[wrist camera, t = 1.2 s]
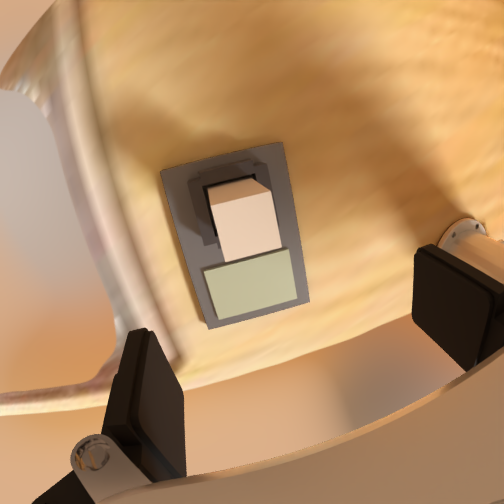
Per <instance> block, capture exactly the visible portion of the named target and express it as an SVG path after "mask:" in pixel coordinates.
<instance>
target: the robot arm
mask: <svg viewBox="0 0 504 504" xmlns="http://www.w3.org/2000/svg"><path fill="white" fill-rule="evenodd" d="M412 319H413V321H414V322H415V324H417V325H418V326H419V327H420V328H421V329H422V330H423V331H424V332H425V333H426V334H427V335H428V336H430V338H432V339H433V340H434V341H435V342H436V343H437V344H438V345H439V346H440V347H441V348H442V349H443V350H444V351H445V352H446V353H447V354H448V355H449V356H450V357H451V358H452V359H454V361H456V363H457V364H458V365H459V366H460V367H461V368H463V369H464V370H465V371H466V373H465V374H463V375H461V376H460V377H458V378H456V379H455V380H453V381H451V382H450V383H448V384H447V385H445V386H443V387H441V388H440V389H438V390H436V391H434V392H433V393H431V394H429V395H427V396H426V397H424V398H422V399H420V400H418V401H416V402H414V403H412V404H411V405H408V406H407V407H404V408H403V409H400V410H398V411H396V412H394V413H392V414H390V415H388V416H386V417H384V418H382V419H379V420H377V421H375V422H373V423H370V424H368V425H366V426H364V427H361V428H359V429H357V430H354V431H351V432H349V433H347V434H344V435H341V436H339V437H336V438H334V439H331V440H328V441H325V442H322V443H320V444H317V445H314V446H311V447H308V448H305V449H302V450H299V451H295V452H292V453H289V454H285V455H282V456H278V457H275V458H271V459H268V460H264V461H260V462H256V463H252V464H248V465H243V466H239V467H236V468H230V469H226V470H221V471H216V472H211V473H205V474H199V475H193V476H188V477H186V476H187V475H186V474H187V472H186V454H185V429H184V395H183V391H182V388H181V386H180V384H179V382H178V380H177V378H176V376H175V374H174V372H173V370H172V369H171V366H170V364H169V362H168V360H167V358H166V356H165V354H164V352H163V350H162V348H161V346H160V344H159V342H158V339H157V337H156V335H155V333H154V332H153V331H148V330H147V328H141V329H137V330H133V331H129V333H128V336H127V339H126V343H125V347H124V350H123V354H122V358H121V362H120V366H119V370H118V373H117V374H116V375H115V376H114V379H113V383H112V387H111V391H110V395H109V400H108V404H107V408H106V413H105V417H104V422H103V427H102V432H101V434H94V435H90V436H87V437H85V438H83V439H82V440H81V441H80V442H78V443H77V444H76V446H75V447H74V449H73V450H72V453H71V465H72V468H73V471H71V472H70V473H69V474H67V475H66V476H65V477H64V478H62V479H61V480H60V481H59V482H57V483H56V484H55V485H54V486H52V487H51V488H50V489H49V490H47V491H46V492H44V493H43V494H42V495H41V496H39V497H38V498H37V499H35V501H34V502H33V503H32V504H504V241H503V240H499V241H496V240H494V239H492V238H489V237H487V234H486V231H485V229H484V227H483V225H482V224H481V223H480V222H478V221H476V220H474V219H471V218H463V219H460V220H458V221H457V222H455V223H454V224H453V225H452V226H450V227H449V228H448V230H447V231H446V232H445V233H444V235H443V236H442V238H441V240H440V241H439V244H438V246H435V245H433V244H429V245H426V246H423V247H420V248H418V249H417V252H416V254H415V255H414V279H413V301H412Z"/></svg>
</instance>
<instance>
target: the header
mask: <svg viewBox="0 0 504 504" xmlns="http://www.w3.org/2000/svg"><path fill="white" fill-rule="evenodd" d="M160 174H161V177H162V181H163V185H164V188H165V192H166V196H167V199H168V203H169V207H170V210H171V214H172V217H173V221H174V224H175V227H176V231H177V234H178V237H179V241H180V244H181V247H182V251H183V254H184V257H185V260H186V264H187V267H188V270H189V273H190V276H191V279H192V282H193V285H194V288H195V291H196V294H197V297H198V300H199V303H200V306H201V309H202V312H203V315H204V318H205V321H206V324H207V327H208V329H209V330H210V329H214V328H218V327H221V326H225V325H229V324H233V323H237V322H241V321H245V320H248V319H252V318H256V317H259V316H263V315H267V314H270V313H274V312H277V311H281V310H284V309H288V308H291V307H295V306H298V305H301V304H305V303H308V302H310V299H309V292H308V285H307V278H306V272H305V265H304V259H303V253H302V246H301V240H300V234H299V228H298V223H297V217H296V211H295V206H294V200H293V195H292V189H291V184H290V178H289V173H288V168H287V163H286V158H285V153H284V148H283V143H282V142H278V143H273V144H268V145H263V146H258V147H254V148H249V149H244V150H240V151H236V152H231V153H227V154H223V155H219V156H215V157H210V158H206V159H203V160H199V161H195V162H191V163H187V164H184V165H180V166H176V167H173V168H169V169H166V170H162V171H160ZM244 176H249V177H251V178H252V179H254V180H255V181H257V182H258V183H260V184H261V185H263V186H264V187H265V188H267V189H268V190H270V191H271V194H272V199H273V204H274V209H275V214H276V219H277V225H278V230H279V235H280V240H281V245H282V247H281V248H278V249H274V250H270V251H266V252H262V253H259V254H255V255H251V256H247V257H243V258H240V259H236V260H232V261H228V262H225V259H224V255H223V251H222V248H221V244H220V240H219V236H218V232H217V229H216V225H215V221H214V217H213V213H212V209H211V205H210V199H209V194H208V189H207V185H211V184H215V183H219V182H223V181H227V180H231V179H235V178H240V177H244Z"/></svg>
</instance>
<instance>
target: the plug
mask: <svg viewBox="0 0 504 504" xmlns="http://www.w3.org/2000/svg"><path fill="white" fill-rule="evenodd" d="M207 189H208V194H209V199H210V205H211V209H212V213H213V217H214V221H215V225H216V229H217V232H218V236H219V240H220V244H221V248H222V251H223V255H224V259H225V262H228V261H232V260H236V259H240V258H243V257H247V256H251V255H255V254H259V253H262V252H266V251H270V250H274V249H278V248H281V247H282V245H281V240H280V235H279V230H278V225H277V219H276V214H275V209H274V204H273V199H272V194H271V191H270V190H268V189H267V188H265V187H264V186H263V185H261V184H260V183H258V182H257V181H255V180H254V179H252V178H251V177H249V176H244V177H240V178H235V179H231V180H227V181H223V182H219V183H215V184H211V185H207Z"/></svg>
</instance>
